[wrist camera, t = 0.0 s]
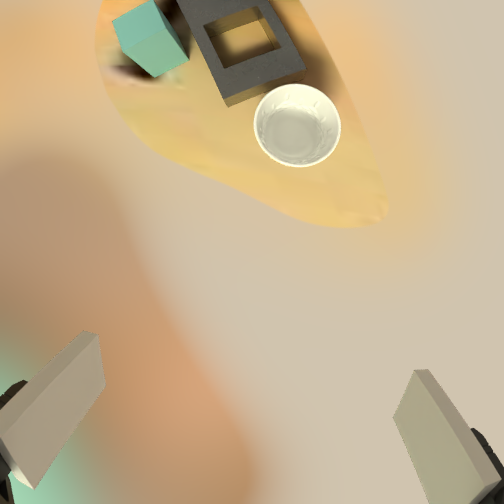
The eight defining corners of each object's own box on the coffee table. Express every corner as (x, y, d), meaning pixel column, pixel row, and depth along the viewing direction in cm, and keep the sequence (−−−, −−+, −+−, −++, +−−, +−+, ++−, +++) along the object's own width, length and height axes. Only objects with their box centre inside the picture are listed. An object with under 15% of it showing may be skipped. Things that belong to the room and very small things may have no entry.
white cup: (314, 102, 34) (329, 78, 24) (328, 164, 36) (349, 158, 26) (251, 114, 35) (245, 92, 25) (265, 176, 36) (264, 174, 27)
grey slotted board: (176, -2, 31) (168, -16, 27) (241, -27, 29) (239, -42, 26) (227, 107, 35) (223, 99, 31) (302, 79, 33) (306, 68, 29)
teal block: (143, 50, 33) (112, 21, 23) (176, 33, 32) (152, -2, 23) (154, 77, 34) (122, 51, 24) (189, 60, 33) (165, 28, 24)
